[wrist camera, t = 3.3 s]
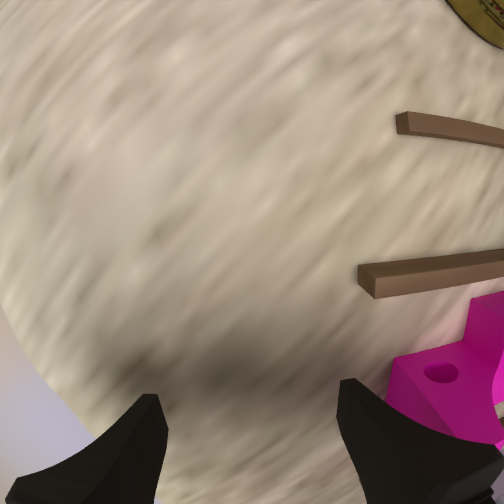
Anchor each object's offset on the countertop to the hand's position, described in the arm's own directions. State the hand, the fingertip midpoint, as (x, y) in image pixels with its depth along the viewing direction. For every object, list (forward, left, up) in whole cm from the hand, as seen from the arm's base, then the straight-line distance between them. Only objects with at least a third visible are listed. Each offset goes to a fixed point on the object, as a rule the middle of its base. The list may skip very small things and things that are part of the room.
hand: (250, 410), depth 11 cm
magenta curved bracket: (-1, -15, -3) cm, 15 cm away
